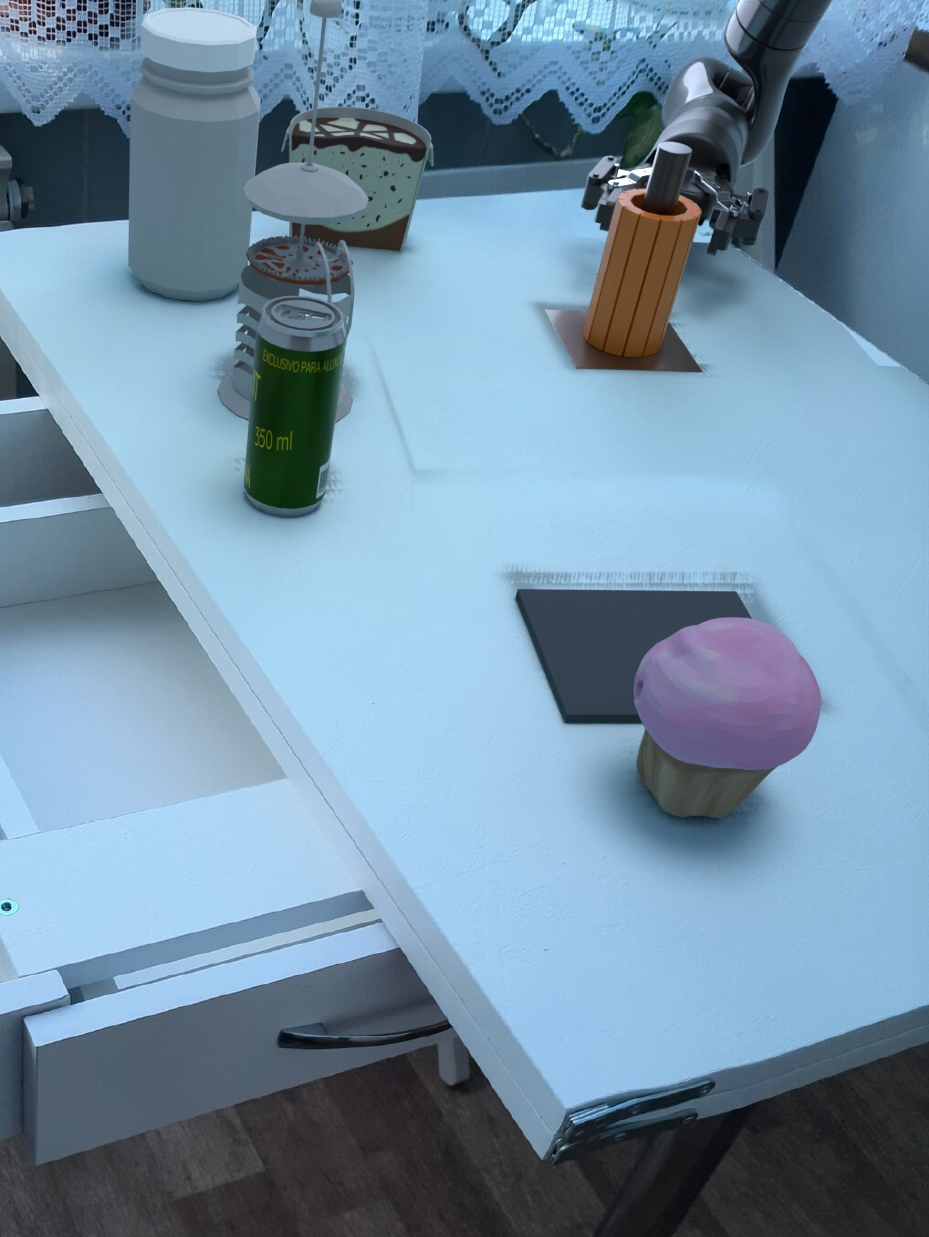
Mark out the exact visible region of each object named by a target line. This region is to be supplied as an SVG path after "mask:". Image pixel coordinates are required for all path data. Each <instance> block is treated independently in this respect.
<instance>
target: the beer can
mask: <svg viewBox="0 0 929 1237" xmlns="http://www.w3.org/2000/svg"><path fill="white" fill-rule="evenodd" d="M332 303H333V302H331V303H329V302H327V300H324V299H321V298H317V297H312V296H306V295H299V296H283V297H279V298H275V299H272V300H270V301H268V302H266V303H265V304H264V306H263V307H262V316H261V318H260V319H259V321H258V323H257V326H256V338H255V350H254V362H253V374H252V386H251V398H250V411H249V420H248V425H247V435H246V436H247V437H246V449H245V460H244V470H243V471H244V472H243V489H244V492H245V494H246V497H247V499H248V500H249V502H250V504H251V505H252V506H254V507H255V508H256V509H257V510H259V511H261V512H264V513H266V514H269V515H273V516H277V517H290V518H291V517H300V516H304V515H307V514H311V512H313V511H314V510H316V509H317V508H318V507H319V505H320V503H321V502H322V500H323V499H324V497H325V495H326V494H327V486H328V478H329V471H330V464H331V456H332V448H333V441H334V433H335V425H336V422H335V418H336V411H337V403H338V395H339V388H340V380H341V381H342V379H341V373H342V374H343V372H342V365H343V366H344V364H343V357H344V358H345V356H344V350H345V351H346V347H345V342H346V332H345V328H344V314H343V312H342V311H341V310H340V309H339V308H338V307H336V306H335V305H333V304H332ZM346 343H347V342H346Z"/></svg>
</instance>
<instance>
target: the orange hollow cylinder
mask: <svg viewBox="0 0 929 1237" xmlns="http://www.w3.org/2000/svg"><path fill="white" fill-rule="evenodd" d="M645 192H646V189H633V190H628V191H623V193H621V194H620V195H619V197H618V198H617V201H616V205H615V208H614V212H613V216H612V220H611V224H610V228H609V231H608V232H607V236H606V239H605V243H604V248H603V251H602V255H601V259H600V262H599V266H598V271H597V274H596V279H595V283H594V285H593V286H594V287H593V290H592V294H591V298H590V302H589V306H588V310H587V311H588V313H587V317H586V321H585V325H584V329H583V336H584V338H585V339H586V341H587V342H589V344H590V345H592V346H594V347H595V348H597V349H599V350H601V351H602V350H604V352H606V353H610V354H614V355H617V356H622V355H623V356H624V357H641V356H642V357H646V356H650V355H653V354H656V353H657V352H658V351H659V349H660V347H661V345H662V342H663V338H664V335H665V332H666V329H667V325H668V322H669V323H670V319H671V315H672V312H673V308H674V305H675V302H676V300H677V295H678V292H679V290H680V289H679V288H680V285H681V283H682V278H683V275H684V272H685V269H686V266H687V263H688V259H689V255H690V253H691V249H692V246H693V242H694V239H695V235H696V232H697V231H696V229H697V226H698V223H699V219H700V216H701V213H702V211H701V209H700V208H699V206H698V205H697V204H696V203H694V201H692V200H690V199H687V198H685V197H683V196H681V195H679V199H678V202H677V206H676V209H675V213H674V216H665V215H657V214H653V213H649V212H645V211H643V210H641V207H642V203H643V199H644V196H645Z"/></svg>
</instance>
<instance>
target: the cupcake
mask: <svg viewBox="0 0 929 1237" xmlns="http://www.w3.org/2000/svg"><path fill="white" fill-rule="evenodd" d="M634 704H635V707H636V709H637V712H638V714H639V717H640V719H641V721H642V725H643V727H644V731H643V734H642V738H641V741H640V744H639V748H638V752H637V757H636V765H635V766H636V771H637V774H638V776H639V778H640V780H641V781H642V783H643V784H644V785H645V787H646V789H647V790H648V791H650V793H651V794H652V796H653V798H655V800H656V801H657V804H658V806H659V808H660V809H661V810H662V811H664V812H666V813H668V814H669V815H672V816H675V817H680V818H688V817H699V816H702V817H708V818H712V819H725V818H726V817H729V816H731V815H732V813H734V812H735V811H736V810H737V809H738V808H739V807H740V806H741V805H742V804H743V803H744V802H745V801H746V800H747V798H748V797H749V796H750V795H751V794H752V793H753V792H754V791H755V790H756V789H757V787H759V785H760V784H761V783H762V782H763V781H764V780H765V779H766V778H767V777H768V776H769V775H770V774H771V773H772V772H773V771H774V770H776V769H777V768H778V767H780V766H783V765H784V764H787V763H788V762H790V761H792V760H793V759H796V757H798V756H799V755H801V754H803V752H804V751H805V750H806V749H807V748H808V746H809V745H810V743H811V742H812V740H813V737H814V736H815V733H816V731H817V727H818V723H819V719H820V714H821V709H822V708H821V707H822V694H821V689H820V686H819V683H818V681H817V679H816V676H815V674H814V671H813V670H812V668H811V666H810V664H809V663H808V661H807V660H806V659H805V658H804V657H803V656H802V655H801V654H800V653H799V651H798V648H797V647H796V646H795V644H794V643H793V641H791V639H790V638H788V636H787V635H786V634H784V633H783V632H782V631H780V630H779V629H777V627H774V626H773V625H771V624H768V623H766V622H764V621H761V620H758V619H754V618H752V619H750V618H734V617H727V618H717V619H711V620H708V621H706V622H703V623H701V624H699V625H693V626H689V627H685V628H683V629H681V630H679V631H678V632H676V633H675V634H673V635H671V636H670V637H668V638H667V639H664V640H662V641H660V642H659V643H657V644H656V645H655V646H654V647H653V648H651V649H650V650H649V651H648V652H647V654H646V655H645V656H644V657H643V659H642V661H641V663H640V666H639V668H638V670H637V673H636V676H635V680H634Z"/></svg>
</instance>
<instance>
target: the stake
mask: <svg viewBox="0 0 929 1237" xmlns="http://www.w3.org/2000/svg"><path fill="white" fill-rule="evenodd" d="M691 154H692V149H691V148H690V147H688V146H686V145H684V144H681V143H676V142H662V143H660V144H659V145H658V148H657V152H656V155H655V159H654V163H653V166H652V170H651V174H650V177H649V181H648V185H647V188H646V192H645V196H644V199H643V203H642V207H641V210H643V211H645V212H649V213H653V214H657V215H665V216H674V213H675V209H676V206H677V202H678V199H679V195H680V192H681V189H682V185H683V182H684V178H685V175H686V171H687V168H688V164H689V161H690V157H691ZM543 311H544V313H545V315H546V316H547V318H548V320H549V322H550V324H551V326H552V327H553V329H554V331H555V334H556V335H557V336H558V339H559V340H560V342H561V344H562V346H563V348H564V350H565V351H566V354H567V355H568V357H569V358H570V361H571V362H572V364H573V366H574V367H575V369H576V370H577V369H578V370H610V371H611V370H612V371H637V372H639V371H640V372H641V371H642V372H645V371H646V372H675V373H676V372H677V373H704V372H703V370H702V368H701V367H700V366H699V365H700V364H698V362H697V361H696V360H695V358H694V356H693V355H692V354H691V352H690V350H689V349H688V348H687V347H686V346H687V345H685V343H684V341H683V340H682V339H681V338H680V336H679V334H678V333H677V331H676V330H675V328H674V327H673V326H672V324H671V323H670V321H669V322H668V325H667V329H666V332H665V335H664V338H663V342H662V345H661V347H660V349H659V351H658V352H657V353H656V354H653V355H650V356H646V357H642V356H641V357H624V356H623V355H622V356H617V355H614V354H610V353H606V352H604V350H602V351H601V350H599V349H597V348H595V347H594V346H592V345H590V344H589V342H587V341H586V339H585V338H584V336H583V329H584V325H585V321H586V317H587V313H588V310H567V309H566V310H565V309H544V310H543Z"/></svg>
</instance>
